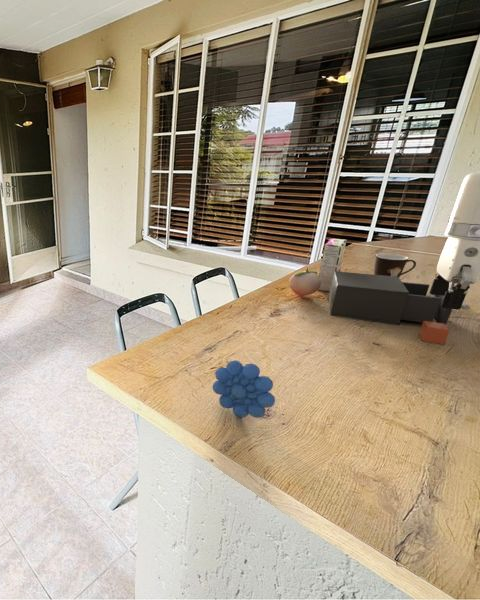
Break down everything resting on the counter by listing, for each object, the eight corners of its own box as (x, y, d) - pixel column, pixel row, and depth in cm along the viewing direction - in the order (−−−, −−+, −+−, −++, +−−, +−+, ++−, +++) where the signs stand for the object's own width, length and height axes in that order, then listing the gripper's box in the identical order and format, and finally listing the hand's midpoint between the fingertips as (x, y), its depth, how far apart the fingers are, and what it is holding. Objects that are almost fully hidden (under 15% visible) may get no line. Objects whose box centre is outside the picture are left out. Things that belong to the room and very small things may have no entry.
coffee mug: (369, 285, 124) (376, 258, 120) (368, 278, 131) (375, 252, 127) (413, 290, 118) (422, 262, 114) (409, 283, 124) (418, 255, 121)
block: (439, 337, 89) (445, 323, 87) (444, 344, 85) (450, 330, 84) (418, 334, 91) (423, 320, 89) (422, 341, 87) (427, 326, 86)
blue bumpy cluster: (281, 422, 64) (292, 366, 60) (261, 439, 60) (271, 381, 56) (224, 392, 73) (230, 341, 68) (204, 405, 69) (209, 353, 65)
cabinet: (389, 306, 107) (398, 276, 104) (399, 325, 96) (409, 292, 92) (328, 298, 115) (334, 271, 112) (330, 315, 104) (337, 285, 100)
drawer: (452, 311, 100) (461, 286, 97) (468, 330, 89) (479, 302, 86) (368, 301, 109) (375, 278, 106) (375, 317, 99) (382, 292, 96)
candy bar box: (321, 281, 130) (330, 238, 124) (337, 283, 127) (347, 239, 121) (314, 290, 123) (324, 244, 117) (331, 292, 120) (342, 245, 114)
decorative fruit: (305, 303, 112) (311, 274, 109) (282, 296, 119) (287, 268, 116) (324, 298, 116) (330, 269, 112) (300, 290, 123) (306, 263, 119)
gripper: (512, 239, 69) (479, 317, 75) (479, 225, 83) (453, 292, 89) (459, 236, 73) (432, 311, 79) (436, 223, 86) (414, 288, 93)
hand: (443, 301), depth 84 cm, fingers open, 9 cm apart
